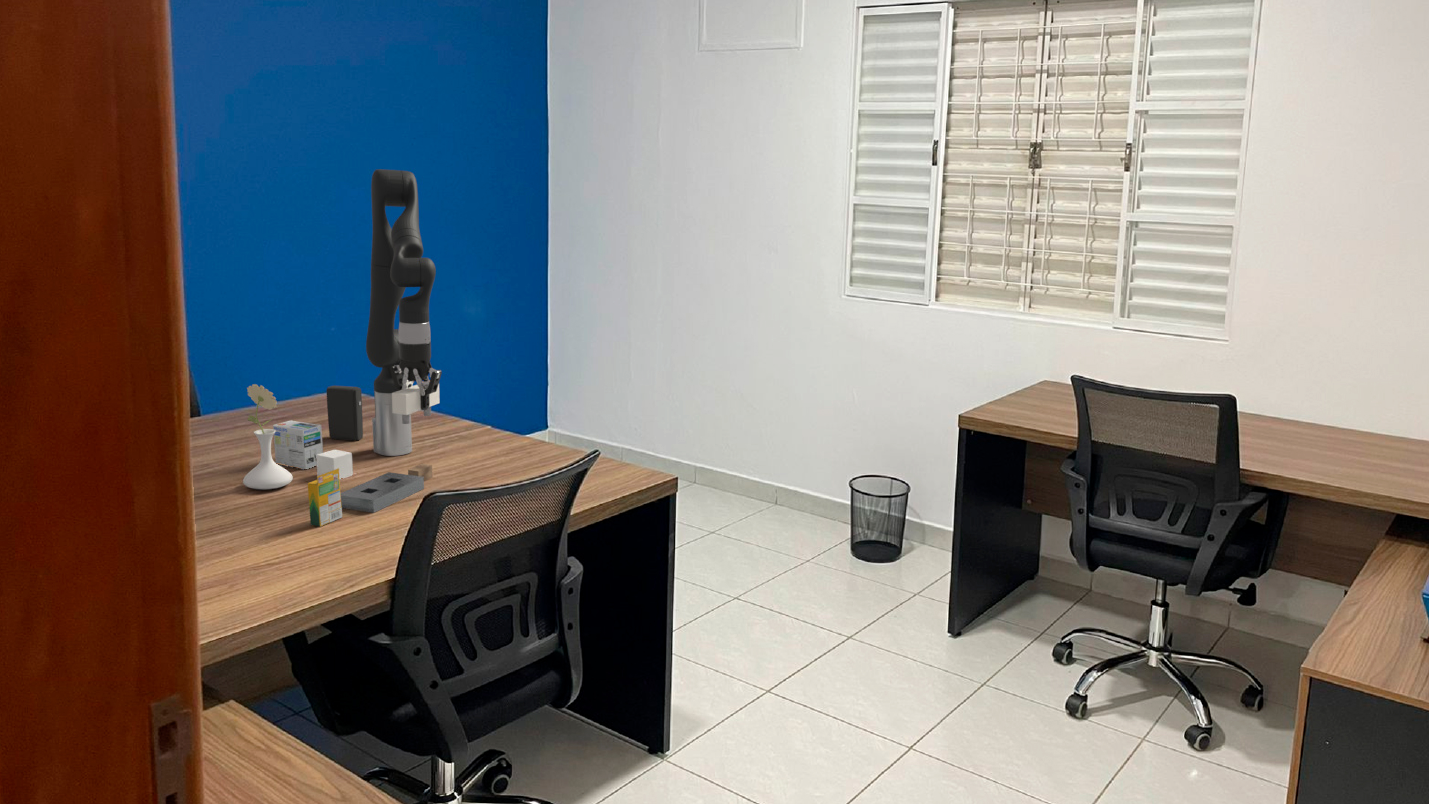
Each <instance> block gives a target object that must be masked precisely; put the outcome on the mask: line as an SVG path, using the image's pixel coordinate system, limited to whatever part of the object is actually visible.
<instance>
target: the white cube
mask: <svg viewBox="0 0 1429 804" xmlns="http://www.w3.org/2000/svg"><path fill="white" fill-rule="evenodd" d="M316 458H317V466H316V472H317V474H316V475H317V476H319V475H322V474H325V473H327V472H330V471H332V470H335V469H338V468H339V479H340V480H342V479H341V478H343V479H346V478H349V477H352V475H354V472H353V454H352V452H348V451H345V450H339V449H332V450H328V451H323V453H321V454H317V455H316ZM328 475H333V474H327V476H328ZM324 477H325V476H324Z"/></svg>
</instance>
